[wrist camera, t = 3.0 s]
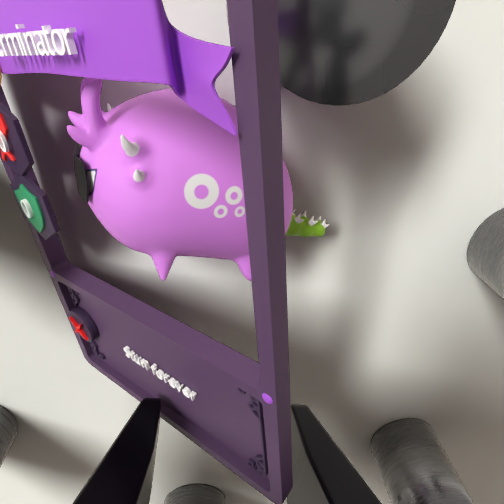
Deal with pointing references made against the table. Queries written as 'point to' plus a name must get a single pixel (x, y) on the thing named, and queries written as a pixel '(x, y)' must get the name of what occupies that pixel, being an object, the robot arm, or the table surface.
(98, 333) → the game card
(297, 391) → the table surface
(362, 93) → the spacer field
